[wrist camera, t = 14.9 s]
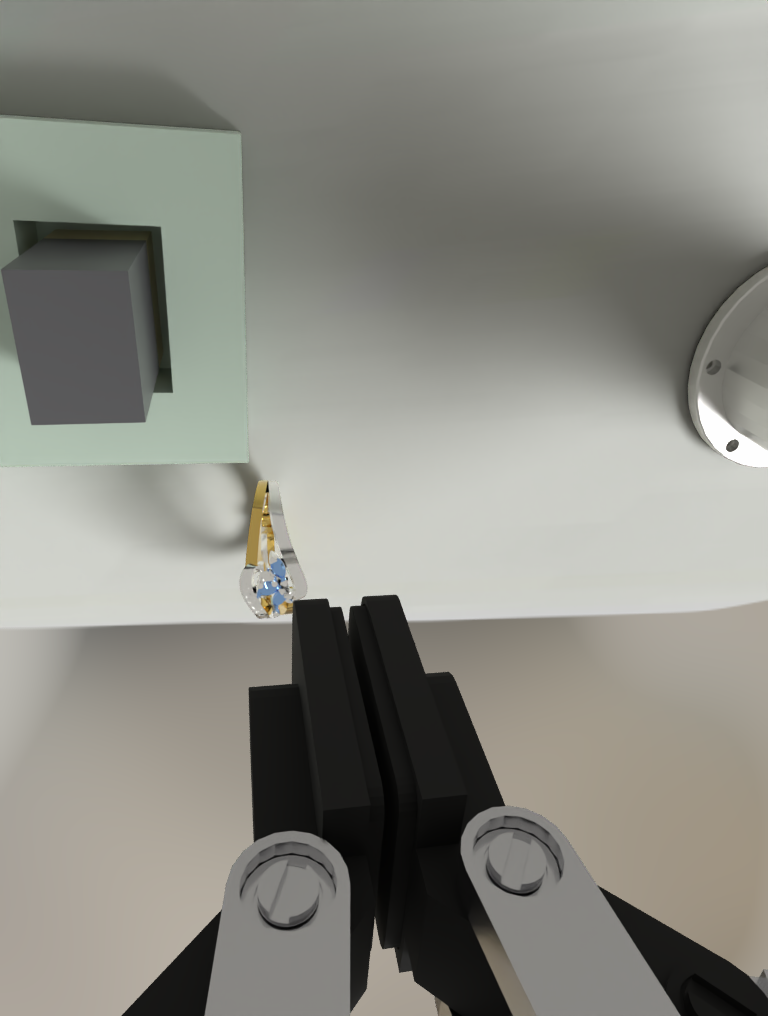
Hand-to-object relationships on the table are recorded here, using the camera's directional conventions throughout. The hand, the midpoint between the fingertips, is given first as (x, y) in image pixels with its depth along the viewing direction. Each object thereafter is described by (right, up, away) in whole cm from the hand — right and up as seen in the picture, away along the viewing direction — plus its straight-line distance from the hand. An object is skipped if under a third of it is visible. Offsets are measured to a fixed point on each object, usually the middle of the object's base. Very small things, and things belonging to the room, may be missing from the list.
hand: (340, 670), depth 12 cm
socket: (-14, +13, +22) cm, 29 cm away
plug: (-12, +12, +22) cm, 27 cm away
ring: (-6, +2, +29) cm, 30 cm away
